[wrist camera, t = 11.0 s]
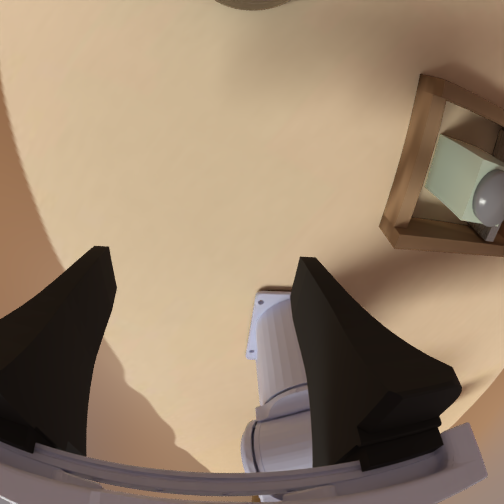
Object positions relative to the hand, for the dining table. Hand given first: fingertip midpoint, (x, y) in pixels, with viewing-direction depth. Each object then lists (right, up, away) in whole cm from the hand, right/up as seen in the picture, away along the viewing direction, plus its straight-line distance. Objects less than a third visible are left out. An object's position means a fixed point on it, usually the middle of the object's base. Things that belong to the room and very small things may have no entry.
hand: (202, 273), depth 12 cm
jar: (+18, +8, +9) cm, 21 cm away
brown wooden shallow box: (+21, +7, +9) cm, 24 cm away
